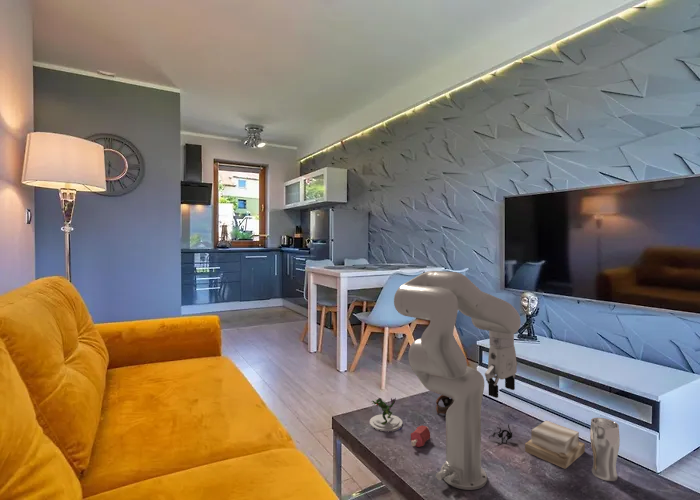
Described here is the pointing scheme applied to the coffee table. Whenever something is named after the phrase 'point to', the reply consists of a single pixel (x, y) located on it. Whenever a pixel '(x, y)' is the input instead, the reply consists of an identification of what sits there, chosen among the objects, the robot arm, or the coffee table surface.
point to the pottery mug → (446, 402)
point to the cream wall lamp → (555, 444)
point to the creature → (509, 436)
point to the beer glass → (604, 448)
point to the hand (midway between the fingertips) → (501, 392)
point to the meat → (420, 436)
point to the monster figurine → (385, 418)
